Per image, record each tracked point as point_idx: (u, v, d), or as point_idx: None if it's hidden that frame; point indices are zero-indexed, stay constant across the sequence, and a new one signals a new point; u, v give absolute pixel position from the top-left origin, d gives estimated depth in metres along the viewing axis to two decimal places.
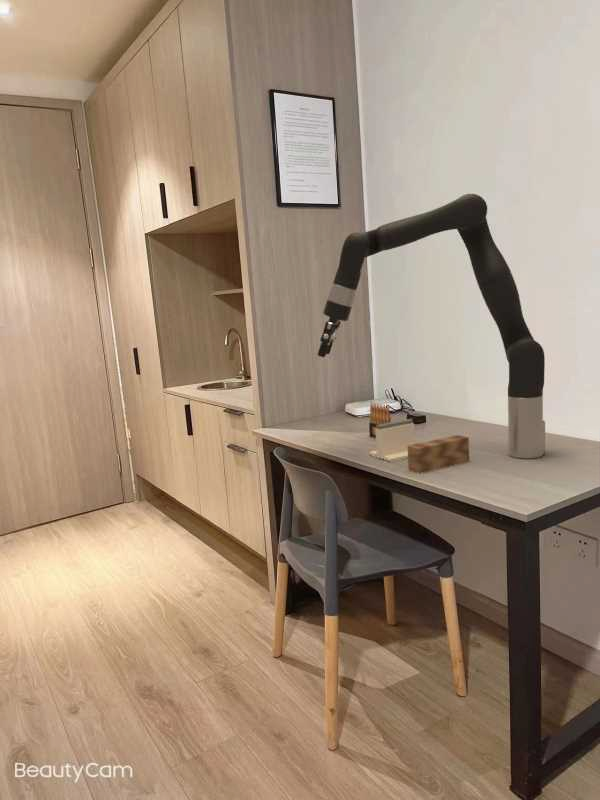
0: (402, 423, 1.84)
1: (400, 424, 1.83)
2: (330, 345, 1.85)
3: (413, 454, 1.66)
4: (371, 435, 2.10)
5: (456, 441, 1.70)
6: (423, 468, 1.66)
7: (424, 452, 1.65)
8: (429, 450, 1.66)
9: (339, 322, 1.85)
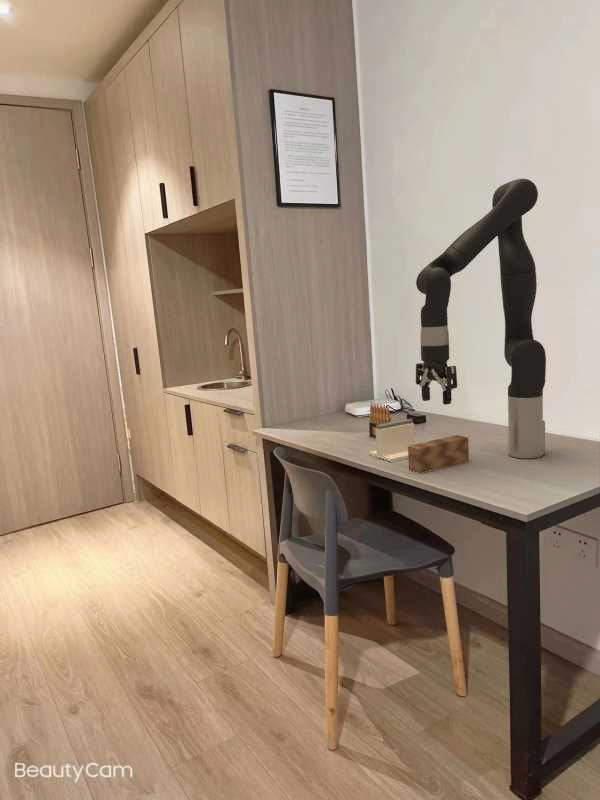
0: (402, 423, 1.84)
1: (400, 424, 1.83)
2: (428, 390, 1.72)
3: (413, 454, 1.66)
4: (371, 435, 2.10)
5: (456, 441, 1.70)
6: (423, 469, 1.66)
7: (425, 452, 1.65)
8: (430, 450, 1.66)
9: None
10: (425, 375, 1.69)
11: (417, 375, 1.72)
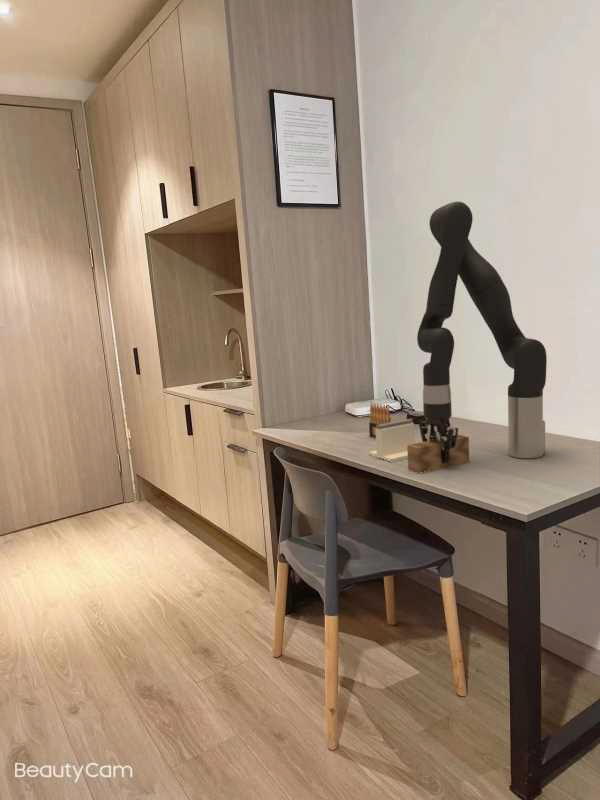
0: (402, 423, 1.84)
1: (400, 424, 1.83)
2: None
3: (413, 453, 1.66)
4: (371, 435, 2.10)
5: (456, 440, 1.70)
6: (423, 468, 1.66)
7: (424, 451, 1.65)
8: (429, 449, 1.66)
9: None
10: (429, 432, 1.70)
11: (422, 433, 1.74)
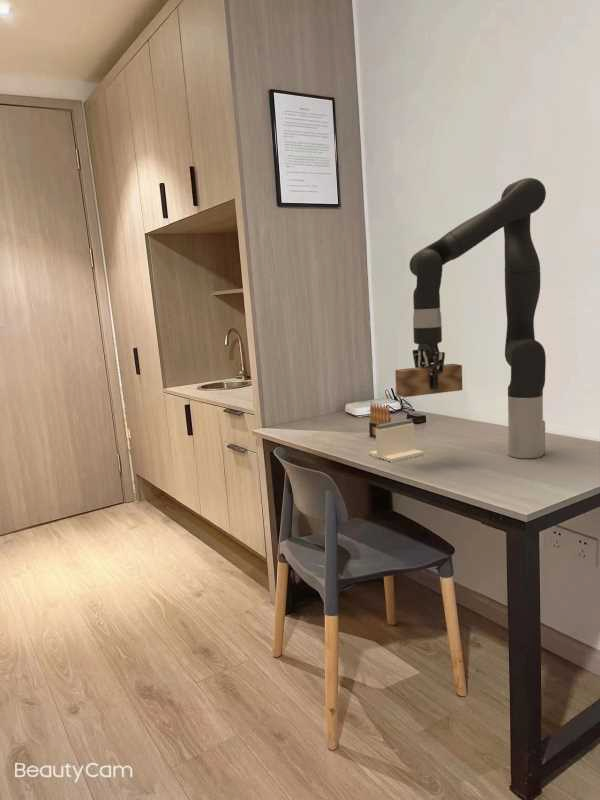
0: (402, 423, 1.84)
1: (400, 424, 1.83)
2: None
3: (399, 377, 1.66)
4: (371, 435, 2.10)
5: (447, 367, 1.68)
6: (408, 392, 1.65)
7: (410, 375, 1.65)
8: (416, 374, 1.65)
9: None
10: (419, 358, 1.70)
11: (415, 361, 1.73)
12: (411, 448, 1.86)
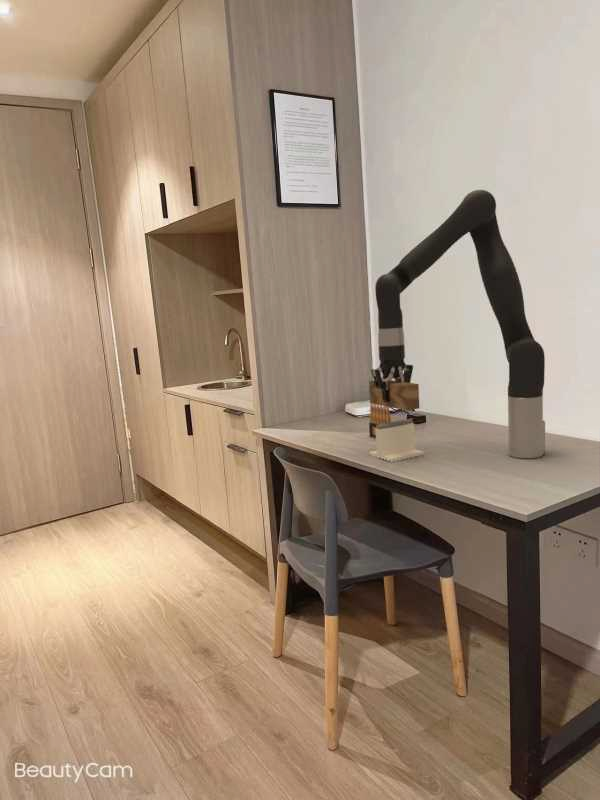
0: (402, 423, 1.84)
1: (400, 424, 1.83)
2: None
3: None
4: (371, 435, 2.10)
5: (396, 385, 1.77)
6: (372, 399, 1.88)
7: (373, 385, 1.87)
8: None
9: (410, 365, 1.83)
10: None
11: None
12: (411, 448, 1.86)
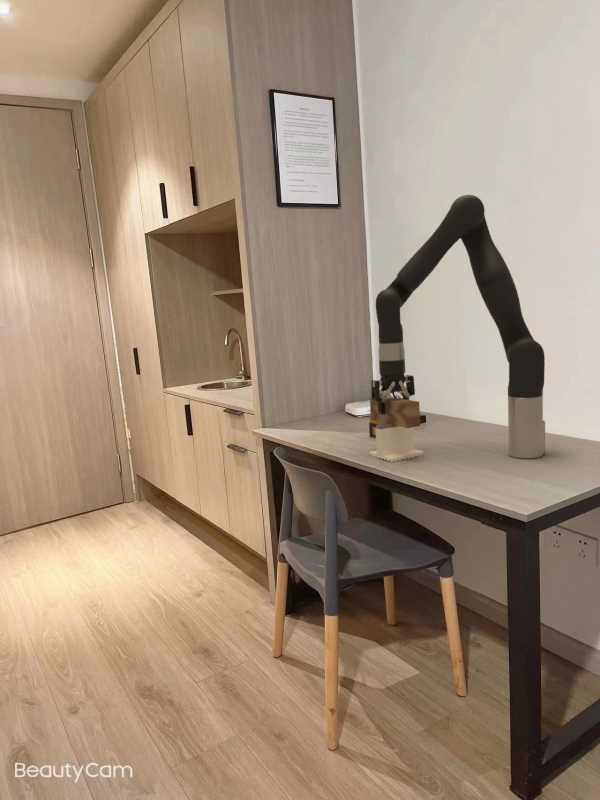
0: None
1: None
2: None
3: None
4: (371, 435, 2.10)
5: (396, 403, 1.77)
6: (373, 416, 1.89)
7: (374, 402, 1.88)
8: (377, 402, 1.86)
9: (410, 377, 1.83)
10: None
11: None
12: (411, 448, 1.86)
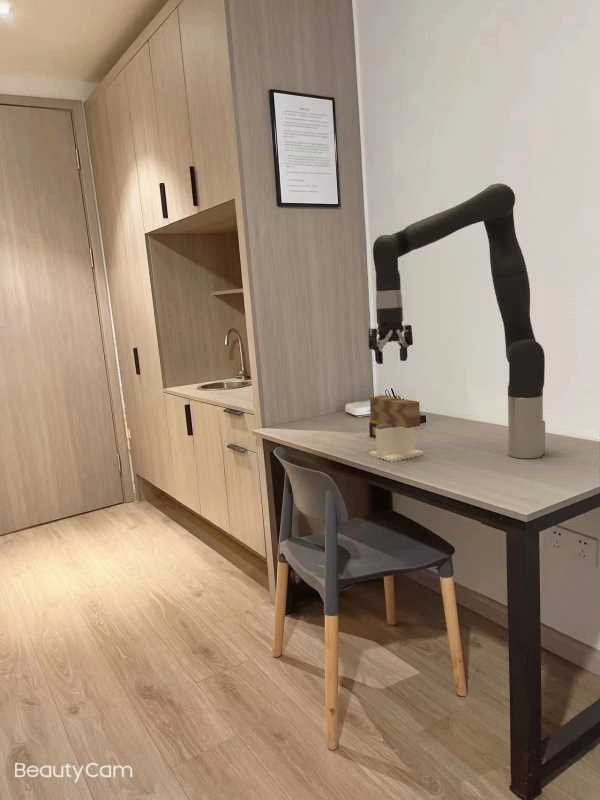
0: None
1: None
2: (403, 351, 1.81)
3: None
4: (371, 435, 2.10)
5: (396, 403, 1.77)
6: (373, 416, 1.89)
7: (374, 402, 1.88)
8: (377, 402, 1.86)
9: (408, 326, 1.81)
10: None
11: None
12: (411, 448, 1.86)
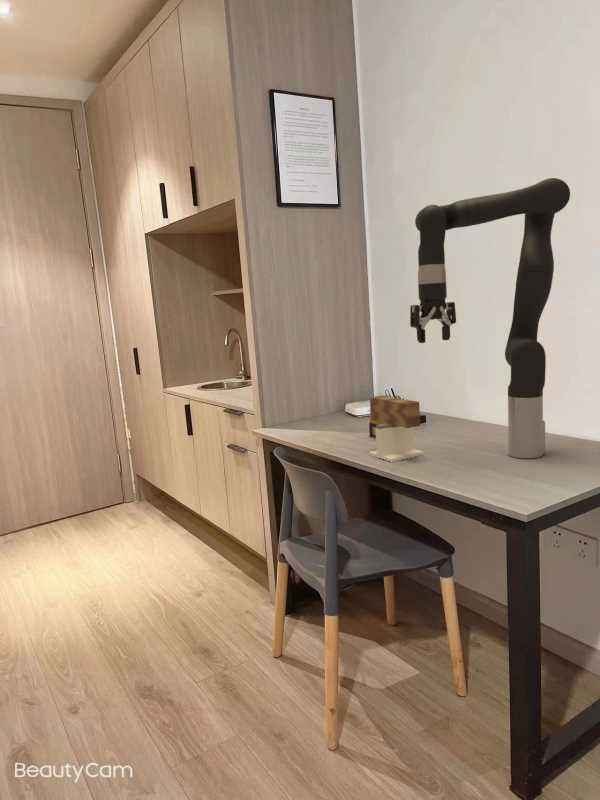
0: None
1: None
2: (446, 330, 1.71)
3: None
4: (371, 435, 2.10)
5: (396, 403, 1.77)
6: (373, 416, 1.89)
7: (374, 402, 1.88)
8: (377, 402, 1.86)
9: (451, 303, 1.71)
10: None
11: None
12: (411, 448, 1.86)
